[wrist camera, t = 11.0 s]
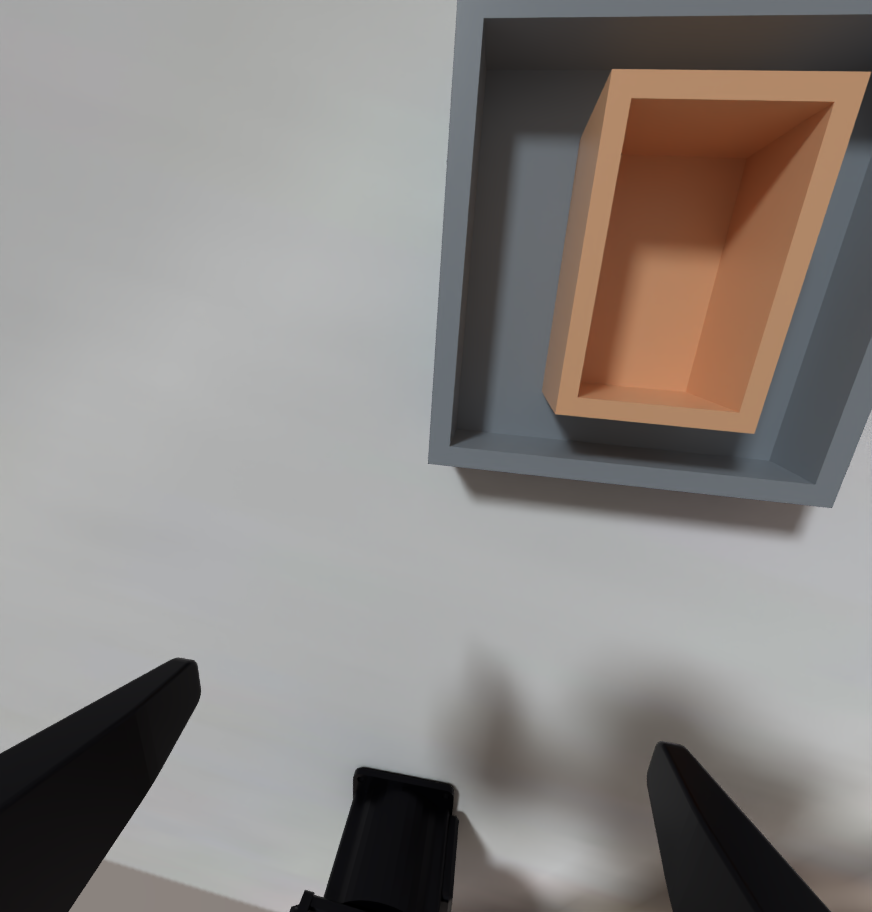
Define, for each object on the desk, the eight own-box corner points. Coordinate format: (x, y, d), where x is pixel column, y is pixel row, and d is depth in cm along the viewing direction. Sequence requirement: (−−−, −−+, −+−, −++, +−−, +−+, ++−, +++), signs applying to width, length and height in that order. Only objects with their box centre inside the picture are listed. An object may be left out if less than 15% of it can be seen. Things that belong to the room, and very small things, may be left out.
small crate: (541, 391, 18) (555, 414, 14) (580, 139, 15) (612, 68, 11) (691, 405, 17) (754, 433, 13) (761, 144, 14) (871, 72, 10)
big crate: (439, 439, 20) (427, 463, 17) (467, 54, 15) (458, -18, 12) (772, 474, 18) (831, 507, 15) (915, 54, 14) (1046, -30, 10)
